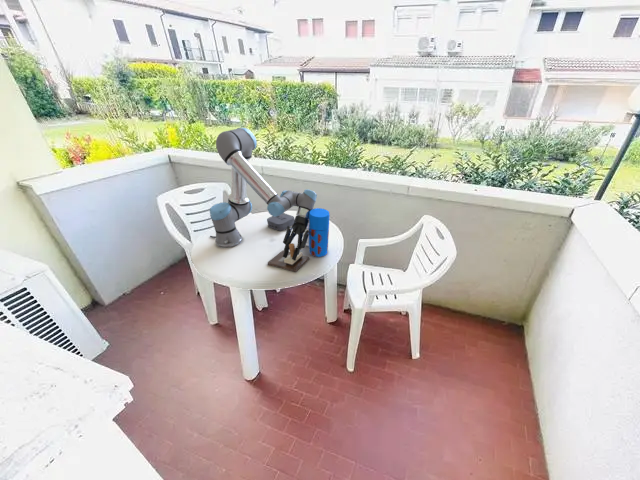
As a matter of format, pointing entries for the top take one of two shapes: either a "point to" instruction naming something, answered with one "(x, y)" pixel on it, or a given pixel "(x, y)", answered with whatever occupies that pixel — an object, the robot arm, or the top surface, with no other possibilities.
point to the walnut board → (279, 262)
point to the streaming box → (280, 221)
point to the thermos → (318, 232)
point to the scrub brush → (288, 259)
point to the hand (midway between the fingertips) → (289, 258)
